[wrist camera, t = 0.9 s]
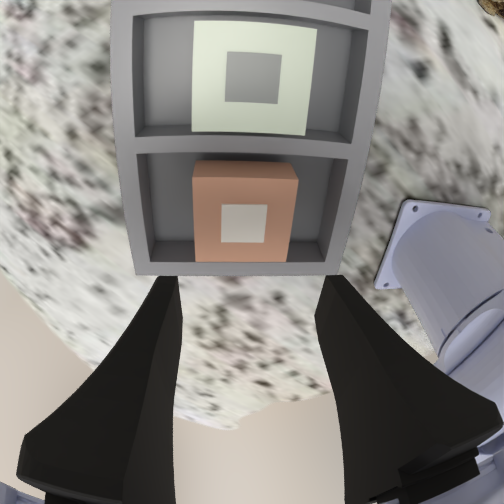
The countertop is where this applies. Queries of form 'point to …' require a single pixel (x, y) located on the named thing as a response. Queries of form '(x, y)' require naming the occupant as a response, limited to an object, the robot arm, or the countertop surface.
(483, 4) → the bread roll
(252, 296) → the countertop surface
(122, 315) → the countertop surface
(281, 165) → the key terracotta
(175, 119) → the grey compartment tray
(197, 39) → the key sage
